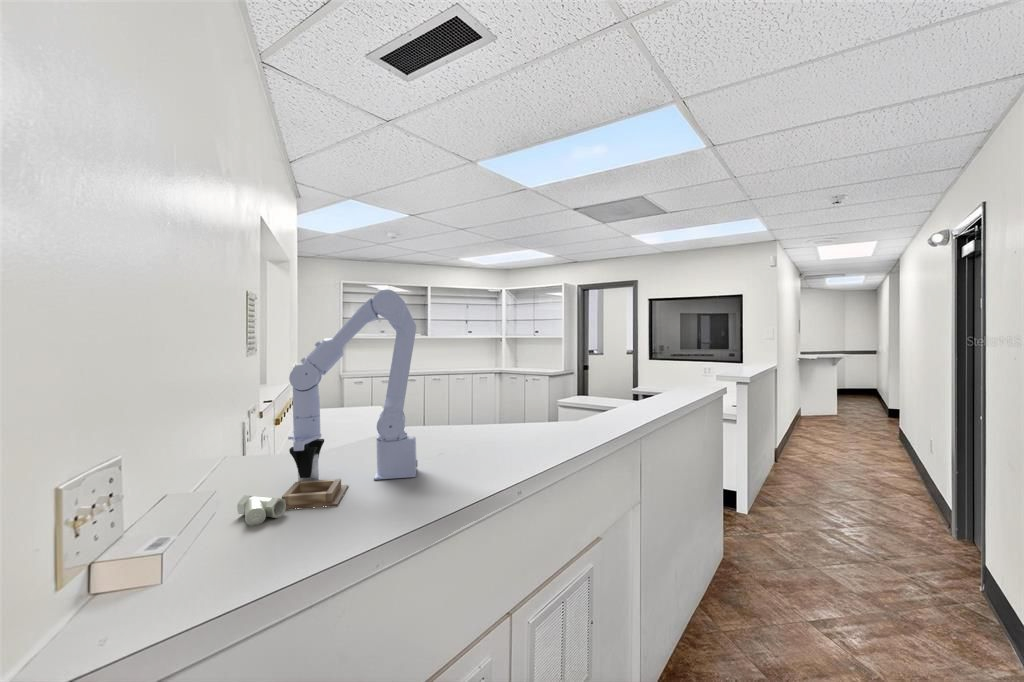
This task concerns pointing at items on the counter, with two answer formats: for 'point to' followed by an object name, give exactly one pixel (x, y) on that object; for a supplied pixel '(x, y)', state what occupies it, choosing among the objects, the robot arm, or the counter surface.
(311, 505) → the cradle board
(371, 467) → the counter surface
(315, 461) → the silver metal cylinder
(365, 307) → the robot arm
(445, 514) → the counter surface
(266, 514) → the pipe fitting
